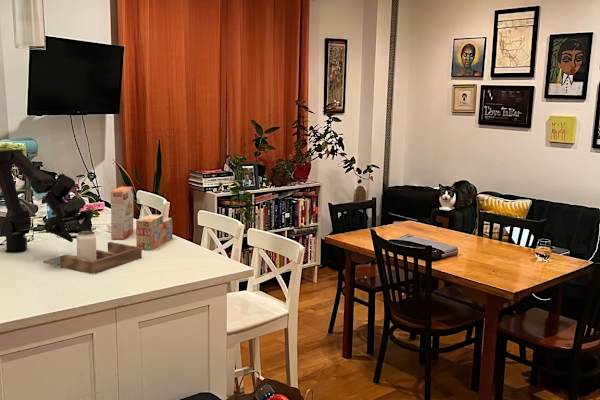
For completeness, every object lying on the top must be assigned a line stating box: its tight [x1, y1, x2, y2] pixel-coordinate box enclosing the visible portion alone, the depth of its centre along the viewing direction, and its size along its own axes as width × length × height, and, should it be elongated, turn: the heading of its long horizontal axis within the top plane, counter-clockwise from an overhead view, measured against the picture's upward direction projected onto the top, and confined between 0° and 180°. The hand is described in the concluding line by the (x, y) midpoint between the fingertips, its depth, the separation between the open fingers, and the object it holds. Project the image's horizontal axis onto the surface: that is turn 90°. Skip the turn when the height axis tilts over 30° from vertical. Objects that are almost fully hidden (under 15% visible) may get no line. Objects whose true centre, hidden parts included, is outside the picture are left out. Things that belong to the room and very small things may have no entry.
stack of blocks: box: [135, 213, 173, 252], centre depth 242 cm, size 21×6×12 cm, turn 169°
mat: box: [42, 253, 77, 267], centre depth 215 cm, size 10×11×1 cm
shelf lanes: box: [60, 241, 143, 275], centre depth 214 cm, size 16×24×4 cm, turn 154°
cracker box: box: [110, 186, 134, 240], centre depth 253 cm, size 14×6×21 cm, turn 179°
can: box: [76, 230, 97, 261], centre depth 209 cm, size 6×6×12 cm
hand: (82, 238), depth 209 cm, fingers open, 9 cm apart
